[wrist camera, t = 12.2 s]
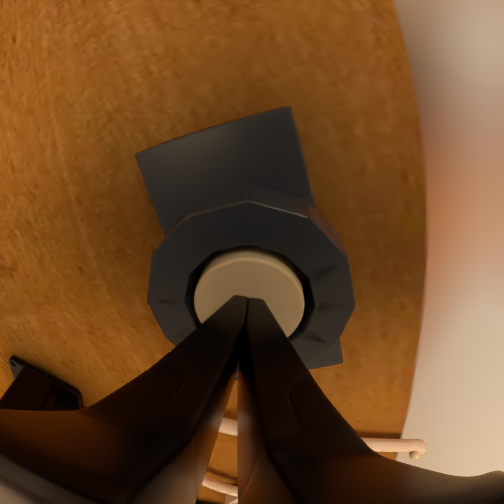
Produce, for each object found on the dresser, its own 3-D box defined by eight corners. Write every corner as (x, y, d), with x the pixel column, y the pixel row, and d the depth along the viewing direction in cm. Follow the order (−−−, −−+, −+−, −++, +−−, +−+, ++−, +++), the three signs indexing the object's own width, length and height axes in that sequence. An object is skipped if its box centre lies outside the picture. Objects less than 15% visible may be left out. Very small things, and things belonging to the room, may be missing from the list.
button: (309, 307, 11) (313, 339, 10) (222, 323, 12) (214, 355, 10) (288, 222, 10) (291, 247, 8) (191, 245, 10) (177, 272, 9)
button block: (347, 328, 14) (363, 392, 11) (223, 350, 15) (210, 414, 12) (302, 102, 10) (316, 100, 7) (144, 149, 11) (91, 172, 8)
